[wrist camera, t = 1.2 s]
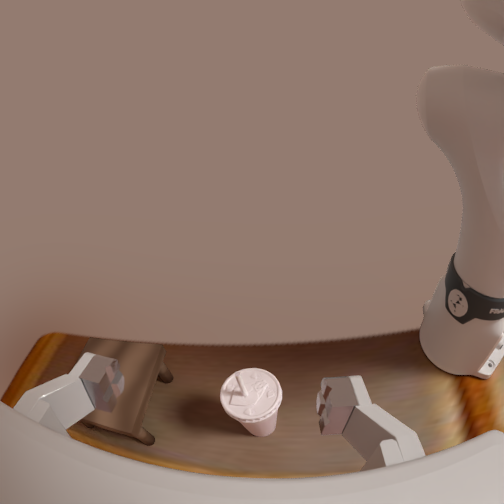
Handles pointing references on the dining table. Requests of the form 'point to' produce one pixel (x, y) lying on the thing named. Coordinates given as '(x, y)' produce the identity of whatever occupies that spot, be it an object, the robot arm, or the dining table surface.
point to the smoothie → (252, 399)
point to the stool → (129, 385)
